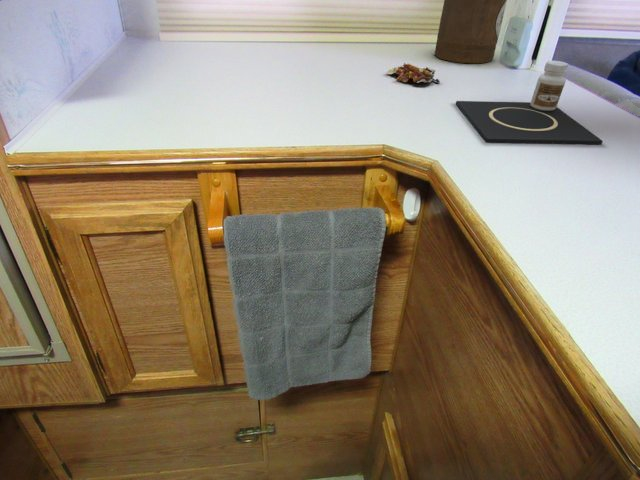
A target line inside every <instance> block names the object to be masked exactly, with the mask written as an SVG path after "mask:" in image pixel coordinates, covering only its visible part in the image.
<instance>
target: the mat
mask: <svg viewBox="0 0 640 480" xmlns="http://www.w3.org/2000/svg"><path fill="white" fill-rule="evenodd" d="M530 103H531V101H529V102H527V101H486V100H485V101H482V100H481V101H479V100H478V101H477V100H456V101H455V105H456V106H457V107H458V109H459V110H460V111H461V112H462V114H463V116H465V118H466V119H467V120H468V122H469V123H470V124H471V125H472V126H473V128H474V129H475V130H476V132H477V133H478V134H479V135H480V136H481V138H482V139H483V140H484V142H485V143H494V144H495V143H503V144H551V145H552V144H553V145H554V144H557V145H558V144H559V145H602V144H603V140H602V139H601V138H600V137H598V136H597V135H596V134H594V133H593V132H592V131H590V130H589V129H588V128H586V127H585V126H584V125H582V124H581V123H580V122H578V121H577V120H575V119H574V118H573V117H571V115H569V114H567V113H566V112H564V111H563V110H562V109H560V107H558V106H557V107H556V109H555V110H553V111H542V110H537V109H535V108H533V107H531V105H530Z"/></svg>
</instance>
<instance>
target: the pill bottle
mask: <svg viewBox="0 0 640 480" xmlns="http://www.w3.org/2000/svg"><path fill="white" fill-rule="evenodd" d="M568 66H569V64H568V63H567V62H565V61H560V60H547V61H546V62H545V65H544V67H543V68H544V69H543V71H544V73H542V74H540V75H539V76H538V78H537V81H536V84H535V88H534V91H533V94H532V97H531V100H530V102H531V103H530V105H531V107H533V108H535V109H537V110H542V111H553V110H555V109H556V107H558V104H559V101H560V98H561V96H562V93H563V90H564V87H565V85H566V81H567V79H566V77H565V76H564V75H565V74H566V73H567V71H568Z"/></svg>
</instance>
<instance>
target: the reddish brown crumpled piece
mask: <svg viewBox="0 0 640 480" xmlns="http://www.w3.org/2000/svg"><path fill="white" fill-rule="evenodd" d="M436 71H437V70H436V69H433V68H431V67H427V66H426V67H424V66H423V67H422V66H421V67H418V66H415V65H414V64H413V65H412V64H411V63H406V62H404V63H403V64H402V65H399V66H394V67H392V68H390V69H388V71H386V74H385V75H392V74H394V73H395V74H396V75H398V76H397V78H396V79H395V80H396V82H400V81H401V82H403V83H408V81H409V79H412V81H413V83H420V82H421V83H422V82H423V83H431V82H432V81H433V82H436V83H440V82H441V80H440V79H439V78H436V79H435V78H434V77H435V73H436Z"/></svg>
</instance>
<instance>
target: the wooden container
mask: <svg viewBox="0 0 640 480" xmlns="http://www.w3.org/2000/svg"><path fill="white" fill-rule="evenodd" d="M507 2H508V0H443V6H442V10H441V16H440V20H439V25H438V32H437V37H436V42H435V49H434V56H435V57H436V58H438V59H440V60H444V61H447V62H451V63H458V64H468V65H469V64H471V65H472V64H476V65H477V64H478V65H479V64H485V63H490V62H492V61H493V59H494V56H495V52H496V47H497V44H498V42H499V41H498V40H499V37H500V33H501V29H502V24H503V19H504V15H505V10H506V6H507Z"/></svg>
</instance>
